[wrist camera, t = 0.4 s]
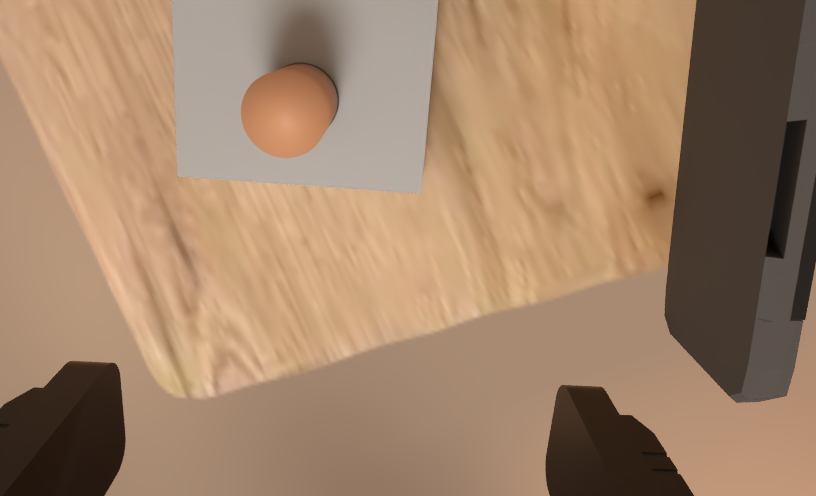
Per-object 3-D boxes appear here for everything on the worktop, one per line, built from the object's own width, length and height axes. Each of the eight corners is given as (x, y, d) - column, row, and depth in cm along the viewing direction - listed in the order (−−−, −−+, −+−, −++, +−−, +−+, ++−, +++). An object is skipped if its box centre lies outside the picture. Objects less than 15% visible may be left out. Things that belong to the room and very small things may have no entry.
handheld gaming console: (702, 327, 42) (795, 414, 32) (660, 328, 42) (741, 416, 32) (752, -65, 34) (892, -101, 25) (701, -63, 34) (821, -99, 25)
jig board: (184, -200, 31) (103, -292, 22) (449, -172, 32) (474, -251, 23) (193, 165, 37) (131, 208, 28) (418, 181, 38) (428, 228, 29)
